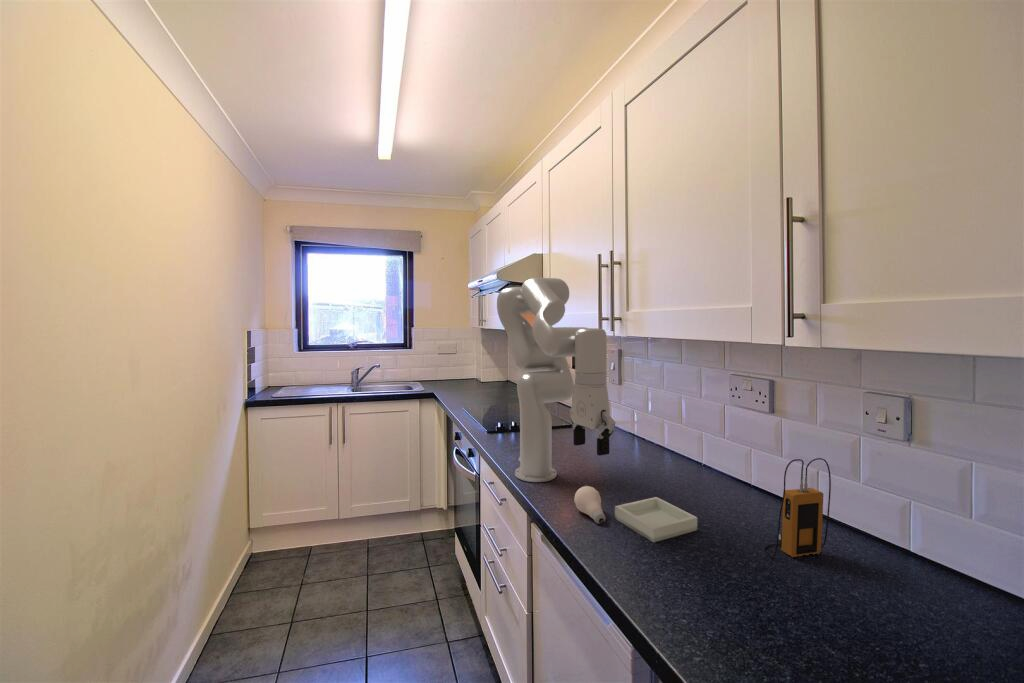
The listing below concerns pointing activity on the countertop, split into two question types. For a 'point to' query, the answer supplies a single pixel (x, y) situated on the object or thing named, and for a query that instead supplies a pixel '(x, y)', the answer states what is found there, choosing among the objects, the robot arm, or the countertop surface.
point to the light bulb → (590, 503)
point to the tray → (656, 519)
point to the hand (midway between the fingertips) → (590, 449)
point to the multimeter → (802, 518)
